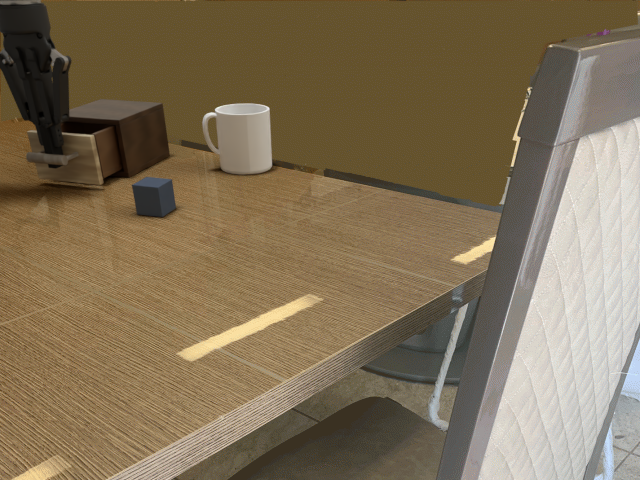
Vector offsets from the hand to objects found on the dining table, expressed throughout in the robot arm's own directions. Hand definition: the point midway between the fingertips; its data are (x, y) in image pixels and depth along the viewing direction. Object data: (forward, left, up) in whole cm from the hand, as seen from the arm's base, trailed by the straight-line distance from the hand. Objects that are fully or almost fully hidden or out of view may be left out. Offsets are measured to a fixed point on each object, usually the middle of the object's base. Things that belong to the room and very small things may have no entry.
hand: (57, 165), depth 110 cm
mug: (+24, +22, -4) cm, 33 cm away
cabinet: (0, +18, -4) cm, 19 cm away
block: (+21, -5, -4) cm, 22 cm away
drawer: (0, +7, -3) cm, 7 cm away
